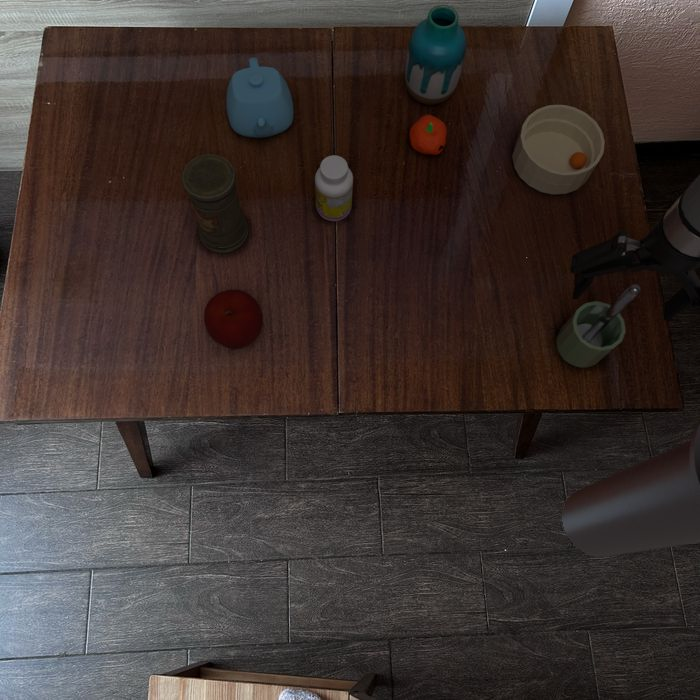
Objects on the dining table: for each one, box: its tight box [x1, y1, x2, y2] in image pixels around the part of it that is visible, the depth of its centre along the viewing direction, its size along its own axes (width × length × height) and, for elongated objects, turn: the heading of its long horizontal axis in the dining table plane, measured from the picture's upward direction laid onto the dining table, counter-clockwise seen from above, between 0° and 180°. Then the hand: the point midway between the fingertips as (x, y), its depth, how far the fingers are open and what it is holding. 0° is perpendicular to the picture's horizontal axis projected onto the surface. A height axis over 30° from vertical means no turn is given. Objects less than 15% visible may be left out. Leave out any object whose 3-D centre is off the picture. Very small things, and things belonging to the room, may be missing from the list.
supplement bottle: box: [314, 154, 354, 222], centre depth 122 cm, size 7×7×13 cm
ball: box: [570, 152, 587, 168], centre depth 131 cm, size 3×3×3 cm
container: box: [181, 153, 249, 255], centre depth 117 cm, size 9×9×18 cm
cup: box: [555, 300, 627, 368], centre depth 116 cm, size 8×9×9 cm
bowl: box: [511, 104, 606, 195], centre depth 130 cm, size 15×15×7 cm
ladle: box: [577, 283, 641, 347], centre depth 109 cm, size 5×5×23 cm
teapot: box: [225, 56, 295, 139], centre depth 129 cm, size 13×11×18 cm
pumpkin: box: [408, 114, 448, 156], centre depth 131 cm, size 7×8×6 cm
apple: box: [203, 288, 264, 350], centre depth 115 cm, size 10×10×10 cm
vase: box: [404, 4, 467, 106], centre depth 129 cm, size 11×11×19 cm
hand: (621, 301), depth 103 cm, fingers open, 13 cm apart
